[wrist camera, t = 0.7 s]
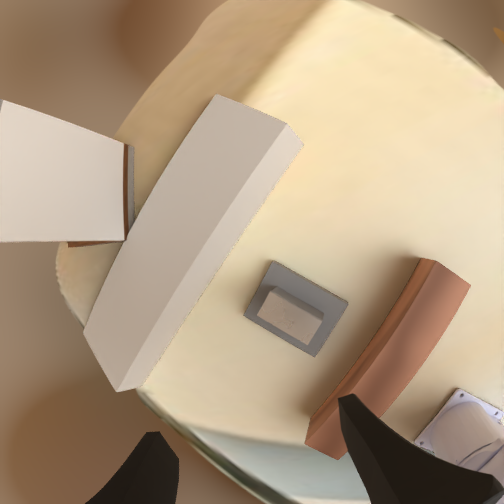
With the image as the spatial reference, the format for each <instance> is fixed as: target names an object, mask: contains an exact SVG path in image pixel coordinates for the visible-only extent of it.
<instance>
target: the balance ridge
mask: <svg viewBox="0 0 504 504" xmlns="http://www.w3.org/2000/svg"><path fill="white" fill-rule="evenodd" d="M347 306H348V302H347V301H345V300H343V299H342V298H340V297H338V296H336V295H334V294H333V293H331V292H329V291H327V290H326V289H324V288H322V287H320V286H319V285H317V284H315V283H313V282H312V281H310V280H308V279H306V278H305V277H303V276H301V275H299V274H297V273H296V272H294V271H292V270H290V269H289V268H287V267H285V266H283V265H282V264H280V263H278V262H276V261H273V262H272V263H271V265H270V267H269V269H268V271H267V273H266V275H265V277H264V278H263V280H262V282H261V284H260V286H259V288H258V290H257V291H256V293H255V295H254V297H253V299H252V301H251V302H250V304H249V306H248V308H247V310H246V312H245V313H244V316H245V317H247V318H248V319H250V320H252V321H253V322H255V323H257V324H258V325H260V326H262V327H263V328H265V329H267V330H268V331H270V332H272V333H273V334H275V335H277V336H278V337H280V338H282V339H284V340H285V341H287V342H289V343H290V344H292V345H294V346H296V347H297V348H299V349H301V350H303V351H304V352H306V353H308V354H310V355H311V356H313V357H315V356H316V355H317V353H318V352H319V350H320V349H321V347H322V346H323V344H324V343H325V341H326V340H327V338H328V336H329V335H330V333H331V332H332V330H333V329H334V327H335V325H336V324H337V322H338V321H339V319H340V317H341V316H342V314H343V312H344V311H345V309H346V307H347Z"/></svg>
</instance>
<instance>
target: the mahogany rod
mask: <svg viewBox="0 0 504 504" xmlns="http://www.w3.org/2000/svg"><path fill="white" fill-rule="evenodd" d="M470 286H471V285H470V284H469V283H467V282H466V281H464V280H463V279H462V278H460V277H459V276H458V275H456V274H455V273H453V272H452V271H450V270H449V269H448V268H446V267H445V266H443V265H442V264H440V263H439V262H437V261H435V260H430V259H425V258H421V259H420V261H419V263H418V265H417V267H416V269H415V270H414V272H413V274H412V276H411V278H410V279H409V281H408V283H407V285H406V286H405V288H404V290H403V291H402V293H401V295H400V296H399V298H398V300H397V301H396V303H395V305H394V306H393V308H392V310H391V311H390V313H389V314H388V316H387V317H386V319H385V321H384V322H383V324H382V325H381V327H380V328H379V330H378V331H377V333H376V334H375V336H374V337H373V339H372V340H371V342H370V343H369V344H368V346H367V347H366V349H365V350H364V352H363V353H362V354H361V356H360V357H359V358H358V360H357V361H356V363H355V364H354V365H353V367H352V368H351V369H350V371H349V372H348V373H347V375H346V376H345V377H344V379H343V380H342V381H341V382H340V384H339V385H338V386H337V388H336V389H335V390H334V391H333V393H332V394H331V395H330V396H329V397H328V399H327V400H326V401H325V402H324V404H323V405H322V406H321V407H320V408H319V409H318V411H317V412H316V413H315V414H314V415H313V416H312V418H311V419H310V423H309V427H308V432H307V436H306V440H305V444H306V445H308V446H310V447H312V448H314V449H316V450H318V451H320V452H322V453H324V454H326V455H328V456H330V457H332V458H334V459H336V460H339V459H340V458H341V457H342V456H343V455H344V454H345V453H346V452H347V451H348V449H347V446H346V443H345V440H344V437H343V434H342V431H341V425H340V415H339V406H338V398H340V397H343V396H346V395H349V394H352V393H353V394H356V396H357V397H358V398H359V399H360V400H361V401H362V402H363V403H364V404H365V406H366V407H367V408H368V409H369V410H370V411H372V412H373V413H374V414H375V415H376V416H377V417H378V418H380V417H381V416H382V415H383V413H384V412H385V411H386V410H387V409H388V408H389V406H390V405H391V404H392V403H393V402H394V401H395V399H396V398H397V397H398V396H399V394H400V393H401V392H402V391H403V389H404V388H405V387H406V386H407V384H408V383H409V382H410V380H411V379H412V378H413V377H414V375H415V374H416V373H417V371H418V370H419V368H420V367H421V366H422V364H423V363H424V362H425V360H426V359H427V357H428V356H429V354H430V353H431V351H432V350H433V349H434V347H435V346H436V344H437V343H438V341H439V339H440V338H441V336H442V335H443V333H444V332H445V330H446V328H447V327H448V325H449V324H450V322H451V320H452V319H453V317H454V315H455V314H456V312H457V310H458V308H459V307H460V305H461V303H462V301H463V299H464V298H465V296H466V294H467V292H468V290H469V288H470Z"/></svg>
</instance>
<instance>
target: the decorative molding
mask: <svg viewBox="0 0 504 504" xmlns="http://www.w3.org/2000/svg"><path fill="white" fill-rule="evenodd" d="M303 146H304V144H303V142H302V141H301V140H300V138H299V137H298V136H297V135H296V133H295V132H294V131H293V130H292V129H291V127H290V126H289V125H288V124H287V123H285V122H283V121H281V120H279V119H276V118H274V117H272V116H270V115H267V114H265V113H263V112H261V111H258V110H256V109H254V108H251V107H249V106H246V105H244V104H241V103H239V102H236V101H234V100H231V99H229V98H226V97H224V96H221V95H218V94H216V95H215V96H214V98H213V99H212V100H211V102H210V103H209V104H208V106H207V107H206V109H205V110H204V111H203V113H202V114H201V116H200V117H199V119H198V120H197V121H196V123H195V124H194V126H193V127H192V129H191V130H190V132H189V133H188V135H187V136H186V138H185V139H184V141H183V142H182V144H181V145H180V147H179V148H178V150H177V151H176V153H175V154H174V156H173V158H172V159H171V161H170V162H169V164H168V165H167V167H166V169H165V170H164V172H163V174H162V175H161V177H160V178H159V180H158V182H157V184H156V185H155V187H154V189H153V190H152V192H151V194H150V195H149V197H148V199H147V201H146V202H145V204H144V206H143V208H142V209H141V211H140V213H139V215H138V217H137V219H136V220H135V222H134V224H133V226H132V228H131V230H130V232H129V233H128V235H127V240H125V241H124V243H123V245H122V247H121V249H120V251H119V253H118V255H117V257H116V259H115V261H114V263H113V265H112V267H111V269H110V271H109V274H108V276H107V278H106V280H105V282H104V284H103V287H102V289H101V291H100V293H99V295H98V298H97V300H96V302H95V305H94V307H93V309H92V312H91V314H90V316H89V319H88V321H87V324H86V326H85V329H84V331H83V334H84V336H85V338H86V340H87V342H88V344H89V345H90V347H91V349H92V351H93V353H94V355H95V357H96V358H97V360H98V362H99V364H100V366H101V367H102V369H103V371H104V372H105V374H106V376H107V378H108V379H109V381H110V383H111V384H112V386H113V388H114V389H115V391H116V392H119V391H124V390H129V389H133V388H138V387H141V386H142V385H143V384H144V382H145V381H146V379H147V378H148V376H149V374H150V373H151V371H152V370H153V368H154V367H155V365H156V364H157V362H158V361H159V359H160V358H161V356H162V354H163V353H164V351H165V350H166V348H167V347H168V345H169V344H170V342H171V340H172V339H173V337H174V336H175V334H176V333H177V331H178V330H179V328H180V327H181V325H182V324H183V322H184V321H185V319H186V318H187V316H188V315H189V313H190V311H191V310H192V308H193V307H194V305H195V304H196V302H197V301H198V299H199V298H200V296H201V295H202V294H203V292H204V291H205V289H206V288H207V286H208V285H209V283H210V282H211V280H212V279H213V277H214V275H215V274H216V272H217V271H218V269H219V268H220V266H221V265H222V263H223V262H224V260H225V259H226V258H227V256H228V255H229V253H230V252H231V250H232V249H233V247H234V246H235V244H236V243H237V241H238V240H239V238H240V237H241V235H242V234H243V232H244V231H245V229H246V228H247V227H248V225H249V224H250V222H251V221H252V219H253V218H254V216H255V215H256V213H257V212H258V210H259V209H260V208H261V206H262V205H263V203H264V202H265V200H266V199H267V198H268V196H269V195H270V193H271V192H272V190H273V189H274V187H275V186H276V184H277V183H278V182H279V180H280V179H281V177H282V176H283V174H284V173H285V171H286V170H287V169H288V167H289V166H290V164H291V163H292V161H293V160H294V158H295V157H296V156H297V154H298V153H299V151H300V150H301V148H302V147H303Z"/></svg>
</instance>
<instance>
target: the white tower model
mask: <svg viewBox="0 0 504 504" xmlns="http://www.w3.org/2000/svg"><path fill="white" fill-rule="evenodd" d="M134 222H135V221H134V147H131V146H129V145H126V144H124V143H121V142H119V141H116V140H114V139H111V138H109V137H106V136H104V135H101V134H98V133H96V132H93V131H91V130H88V129H85V128H82V127H80V126H77V125H75V124H72V123H69V122H66V121H64V120H61V119H58V118H55V117H52V116H49V115H47V114H44V113H41V112H38V111H35V110H32V109H29V108H26V107H23V106H20V105H17V104H14V103H11V102H8V101H5V100H2V99H0V242H53V241H54V242H58V241H68V247H83V246H91V245H99V244H107V243H116V242H124V241H125V240H127V235H128V233H129V232H130V230H131V228H132V226H133V224H134Z"/></svg>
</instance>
